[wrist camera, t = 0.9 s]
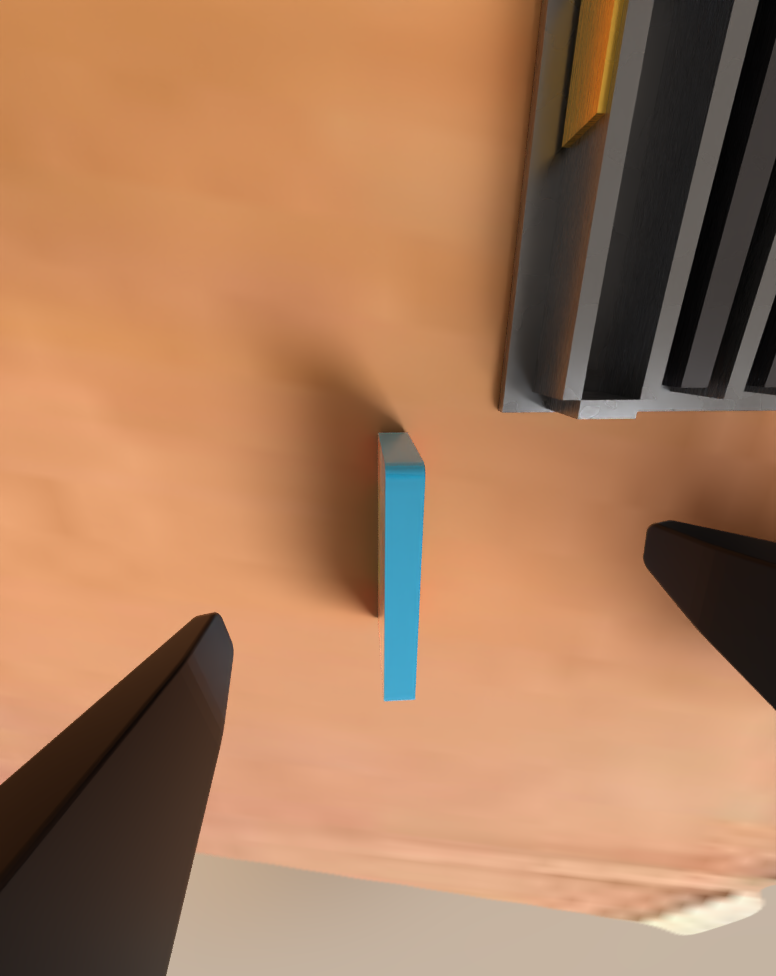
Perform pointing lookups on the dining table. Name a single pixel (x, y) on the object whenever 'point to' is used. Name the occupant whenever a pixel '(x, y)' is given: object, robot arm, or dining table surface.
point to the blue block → (399, 561)
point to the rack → (647, 212)
